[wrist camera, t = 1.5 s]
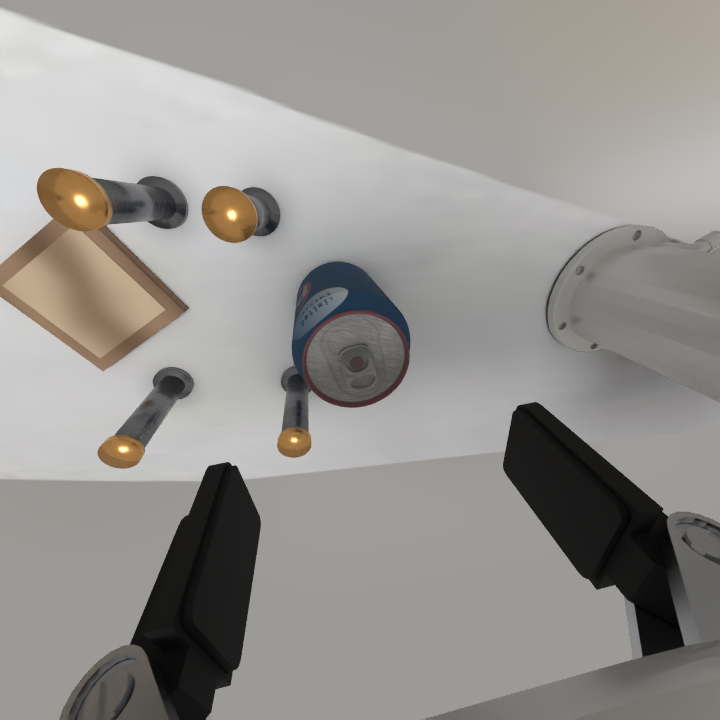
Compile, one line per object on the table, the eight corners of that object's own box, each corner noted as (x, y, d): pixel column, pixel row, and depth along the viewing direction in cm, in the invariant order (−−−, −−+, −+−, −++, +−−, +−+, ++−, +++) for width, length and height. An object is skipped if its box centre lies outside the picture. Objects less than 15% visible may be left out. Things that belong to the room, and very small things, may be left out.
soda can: (284, 273, 24) (266, 325, 13) (364, 248, 24) (408, 280, 13) (313, 345, 27) (316, 431, 17) (382, 323, 27) (429, 394, 17)
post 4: (300, 360, 28) (298, 420, 20) (320, 382, 29) (325, 446, 21) (274, 377, 28) (261, 443, 20) (295, 398, 30) (290, 467, 22)
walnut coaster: (82, 203, 20) (70, 203, 19) (188, 308, 24) (183, 312, 23) (-6, 278, 21) (-22, 282, 20) (110, 365, 25) (102, 371, 24)
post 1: (160, 166, 19) (60, 138, 12) (197, 211, 21) (131, 213, 13) (125, 195, 20) (6, 187, 12) (165, 237, 21) (81, 255, 13)
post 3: (259, 177, 21) (230, 159, 13) (288, 219, 22) (278, 226, 14) (225, 205, 21) (176, 203, 13) (255, 244, 22) (228, 264, 15)
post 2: (173, 361, 26) (114, 428, 18) (201, 384, 27) (158, 456, 19) (146, 379, 26) (78, 453, 18) (175, 402, 28) (123, 479, 20)
